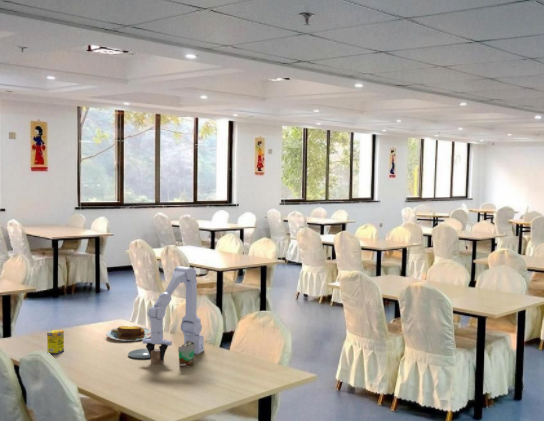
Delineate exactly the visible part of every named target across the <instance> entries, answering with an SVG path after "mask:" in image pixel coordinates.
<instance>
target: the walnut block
mask: <svg viewBox="0 0 544 421" xmlns="http://www.w3.org/2000/svg"><path fill="white" fill-rule="evenodd" d="M164 362H165V358H164V359H163V360H161V359H160V349H159V348H154V350H152V351H151V358H150V364H152V365H161V364H162V363H164Z"/></svg>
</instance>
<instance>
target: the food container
mask: <svg viewBox="0 0 544 421" xmlns="http://www.w3.org/2000/svg"><path fill="white" fill-rule="evenodd" d="M195 348H196V347H195V344H194V342H192V341H186V344H184V343H182V345H181V346H178V348H177V349H178V362H179V363H178V366H179V368H188V367H189V366H190V367H192V366H193V365H194V357H195V354H194V349H195Z"/></svg>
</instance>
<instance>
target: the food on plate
mask: <svg viewBox="0 0 544 421" xmlns="http://www.w3.org/2000/svg"><path fill="white" fill-rule="evenodd" d="M105 335H106V337H107V338H108V339H109V340H110V339H111V340H116V341H117V340H118V341H122V342H123V341H124V342H132V341H139V340H143V339H149V338H151V329H149V328H147V327H142V326H139V325H138V326H136V325H133V326H128V325H127V326H124V325H121V326H118V327H115V328H112V329H110V330H108V331H107V332H106V334H105Z"/></svg>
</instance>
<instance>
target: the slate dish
mask: <svg viewBox="0 0 544 421" xmlns="http://www.w3.org/2000/svg"><path fill="white" fill-rule="evenodd" d="M127 355H128V357H130V358H134V359H151V357H150V354H149V351H148V349H147V348H139V349H134V350H130V351H129V352H128V354H127Z"/></svg>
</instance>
